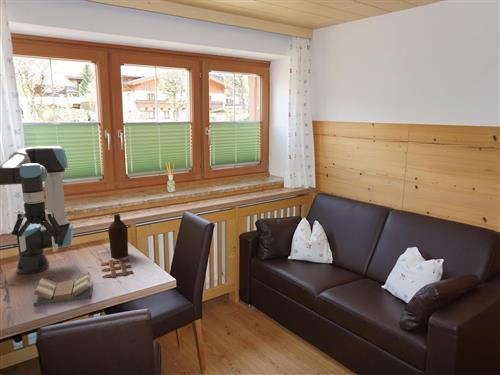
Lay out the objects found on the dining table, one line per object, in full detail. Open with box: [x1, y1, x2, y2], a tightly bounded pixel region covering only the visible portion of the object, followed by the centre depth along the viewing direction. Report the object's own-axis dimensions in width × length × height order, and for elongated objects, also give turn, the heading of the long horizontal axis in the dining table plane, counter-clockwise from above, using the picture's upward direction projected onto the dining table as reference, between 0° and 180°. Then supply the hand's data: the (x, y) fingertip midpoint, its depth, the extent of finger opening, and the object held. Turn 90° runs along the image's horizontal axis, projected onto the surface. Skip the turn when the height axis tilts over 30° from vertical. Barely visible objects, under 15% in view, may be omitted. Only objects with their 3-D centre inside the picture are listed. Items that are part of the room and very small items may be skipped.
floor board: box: [33, 280, 94, 307], centre depth 176 cm, size 14×23×4 cm, turn 109°
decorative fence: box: [100, 257, 134, 279], centre depth 206 cm, size 23×2×15 cm
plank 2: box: [72, 271, 92, 296], centre depth 178 cm, size 14×7×2 cm
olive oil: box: [107, 212, 129, 259], centre depth 223 cm, size 11×11×25 cm
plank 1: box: [33, 277, 58, 299], centre depth 173 cm, size 14×7×2 cm, turn 19°
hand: (39, 250), depth 162 cm, fingers open, 13 cm apart
